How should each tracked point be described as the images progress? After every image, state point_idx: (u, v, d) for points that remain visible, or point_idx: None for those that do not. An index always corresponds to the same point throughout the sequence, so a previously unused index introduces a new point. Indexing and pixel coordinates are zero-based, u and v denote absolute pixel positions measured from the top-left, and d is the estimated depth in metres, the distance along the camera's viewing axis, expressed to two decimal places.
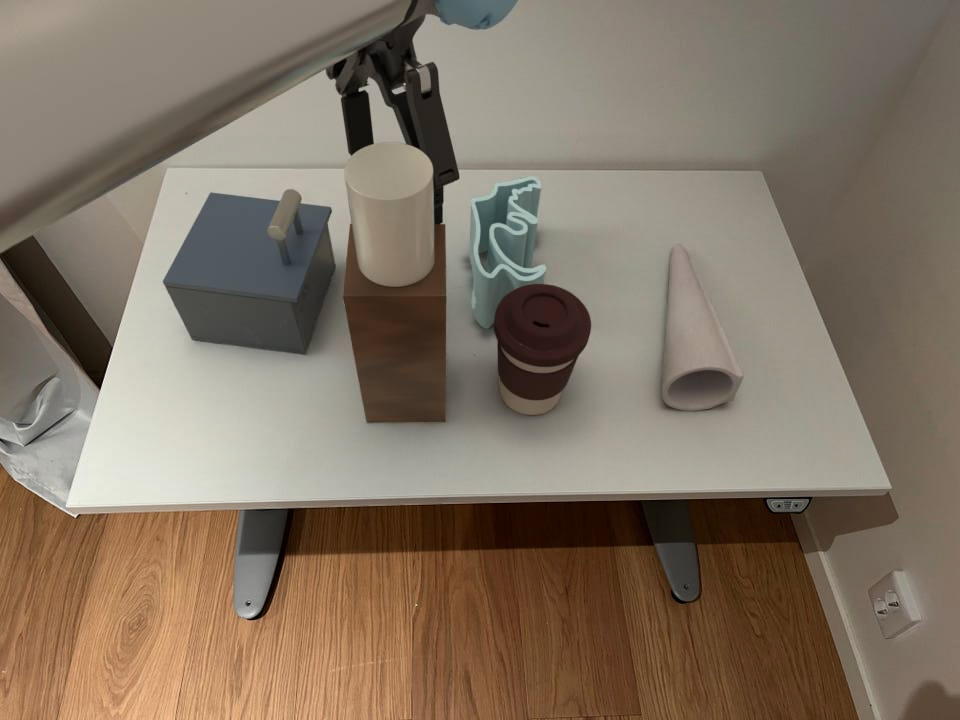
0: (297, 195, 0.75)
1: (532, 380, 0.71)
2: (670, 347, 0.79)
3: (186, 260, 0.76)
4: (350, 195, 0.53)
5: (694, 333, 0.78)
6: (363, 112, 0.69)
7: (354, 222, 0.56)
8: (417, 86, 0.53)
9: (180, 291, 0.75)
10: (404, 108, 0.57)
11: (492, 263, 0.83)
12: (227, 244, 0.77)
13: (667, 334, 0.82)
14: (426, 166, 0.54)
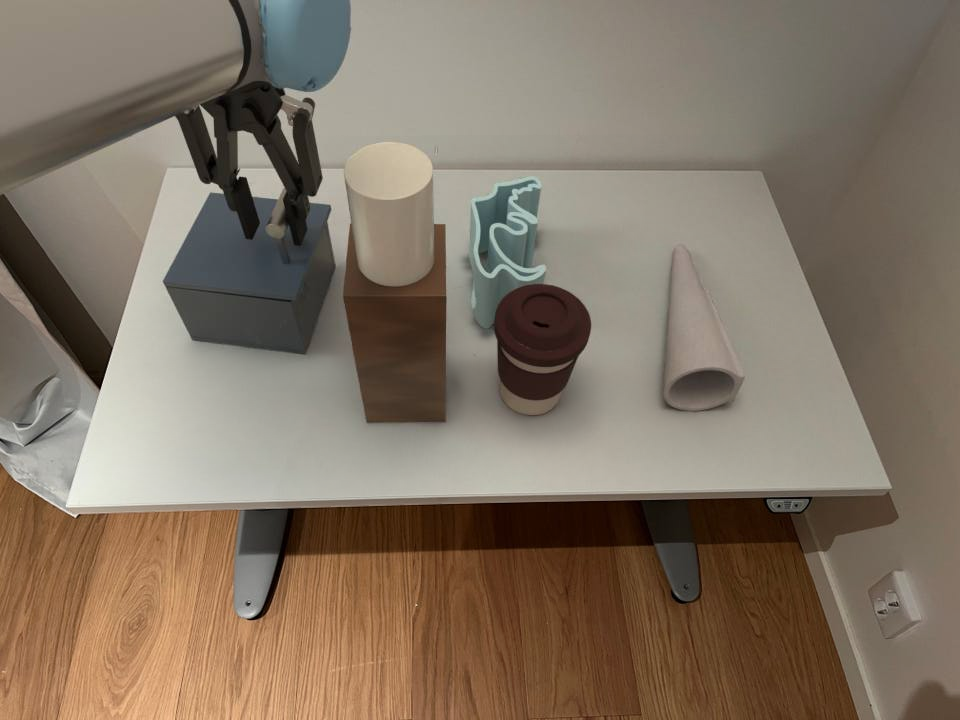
0: None
1: (532, 380, 0.71)
2: (672, 347, 0.79)
3: (186, 260, 0.76)
4: (350, 195, 0.53)
5: (696, 333, 0.78)
6: (248, 196, 0.73)
7: (354, 222, 0.56)
8: (308, 122, 0.63)
9: (180, 291, 0.75)
10: (276, 144, 0.65)
11: (492, 263, 0.83)
12: (227, 243, 0.77)
13: (669, 334, 0.82)
14: (426, 165, 0.54)
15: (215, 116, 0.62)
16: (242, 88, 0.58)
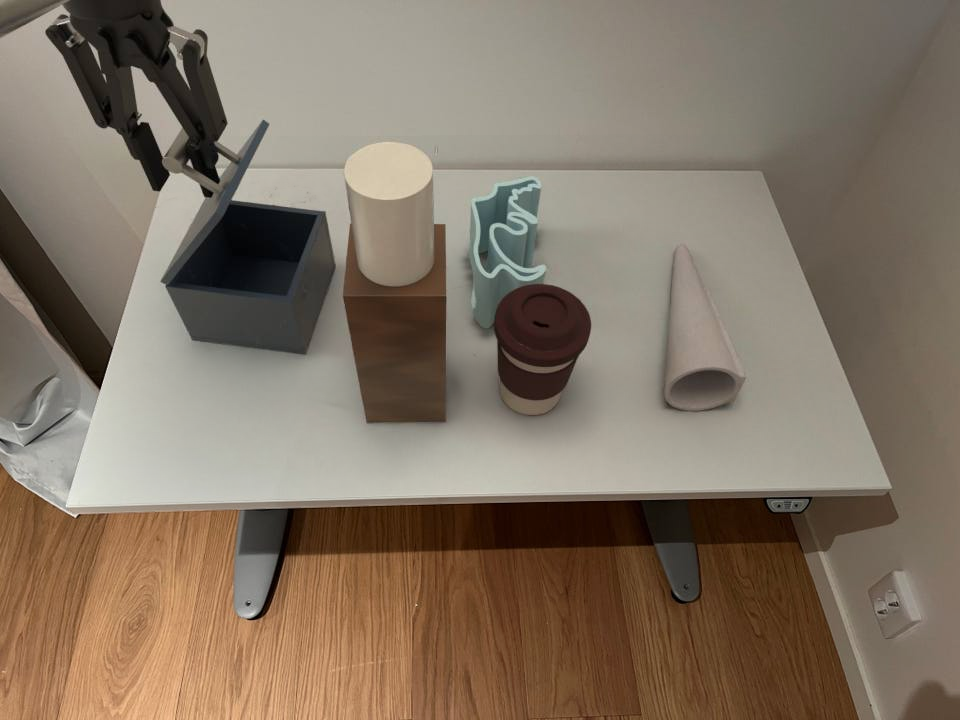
0: None
1: (532, 380, 0.71)
2: (673, 347, 0.79)
3: (176, 253, 0.75)
4: (350, 195, 0.53)
5: (697, 333, 0.78)
6: (151, 143, 0.69)
7: (354, 222, 0.56)
8: (199, 56, 0.58)
9: (180, 291, 0.75)
10: (170, 81, 0.61)
11: (492, 263, 0.83)
12: (199, 217, 0.75)
13: (670, 334, 0.82)
14: (426, 165, 0.54)
15: (98, 49, 0.58)
16: (118, 13, 0.54)
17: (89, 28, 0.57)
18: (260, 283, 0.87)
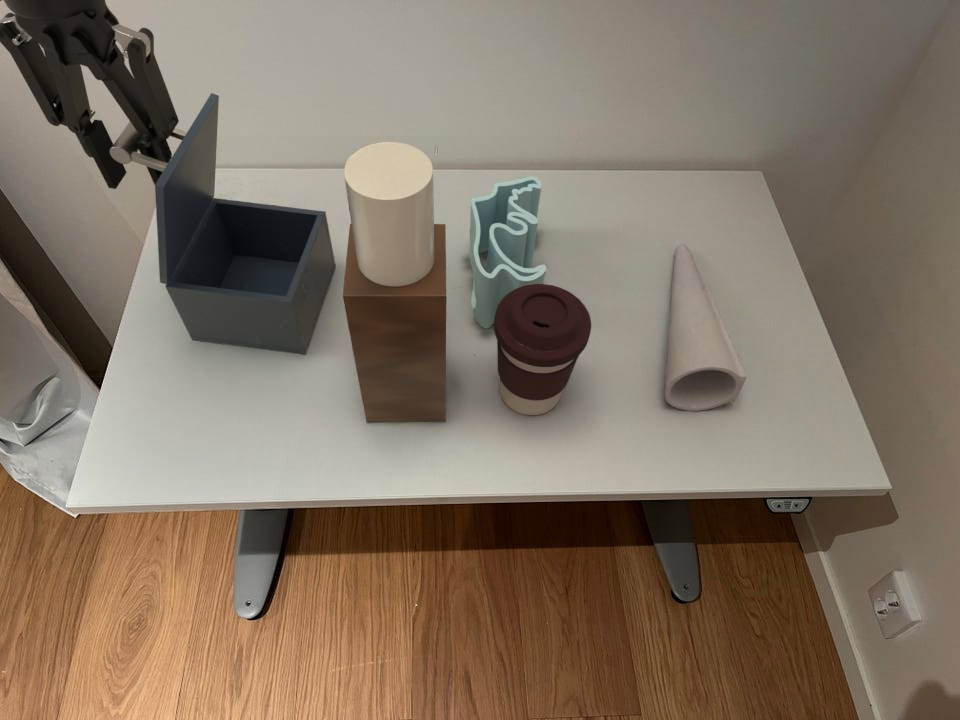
0: None
1: (532, 380, 0.71)
2: (673, 347, 0.79)
3: None
4: (350, 195, 0.53)
5: (697, 333, 0.78)
6: (105, 141, 0.69)
7: (354, 222, 0.56)
8: (144, 54, 0.59)
9: (180, 291, 0.75)
10: (118, 79, 0.62)
11: (492, 263, 0.83)
12: None
13: (670, 334, 0.82)
14: (426, 165, 0.54)
15: (44, 47, 0.58)
16: (60, 12, 0.54)
17: (34, 26, 0.58)
18: (260, 283, 0.87)
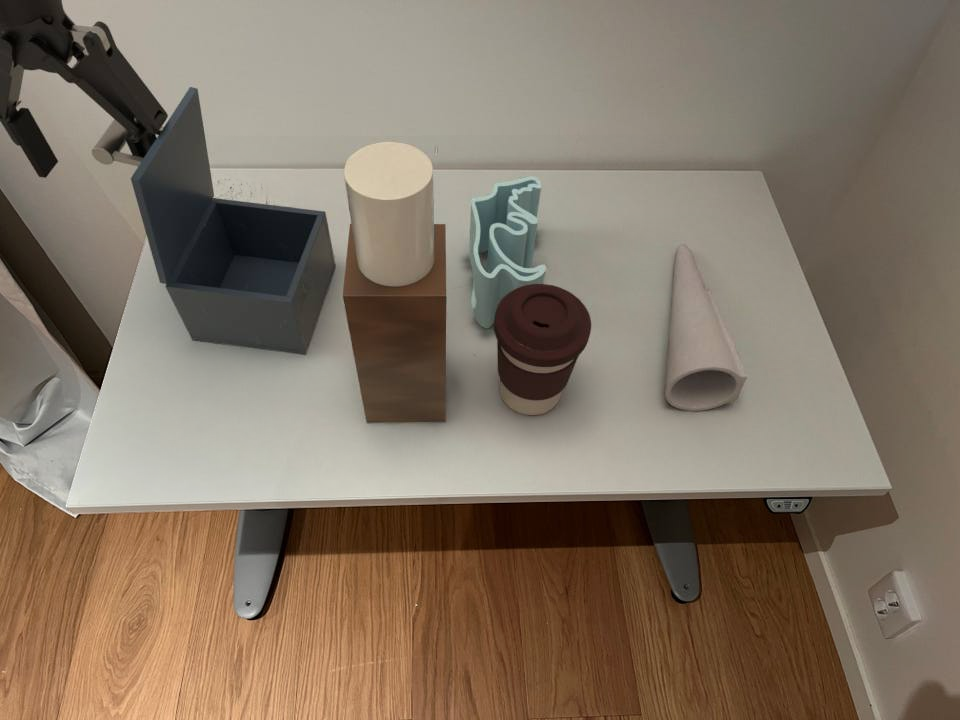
0: None
1: (532, 380, 0.71)
2: (674, 347, 0.79)
3: None
4: (350, 195, 0.53)
5: (698, 333, 0.78)
6: (33, 129, 0.69)
7: (354, 222, 0.56)
8: (101, 46, 0.59)
9: (180, 291, 0.75)
10: (88, 78, 0.62)
11: (492, 263, 0.83)
12: None
13: (671, 334, 0.82)
14: (426, 165, 0.54)
15: (0, 49, 0.59)
16: (16, 18, 0.55)
17: None
18: (260, 283, 0.87)
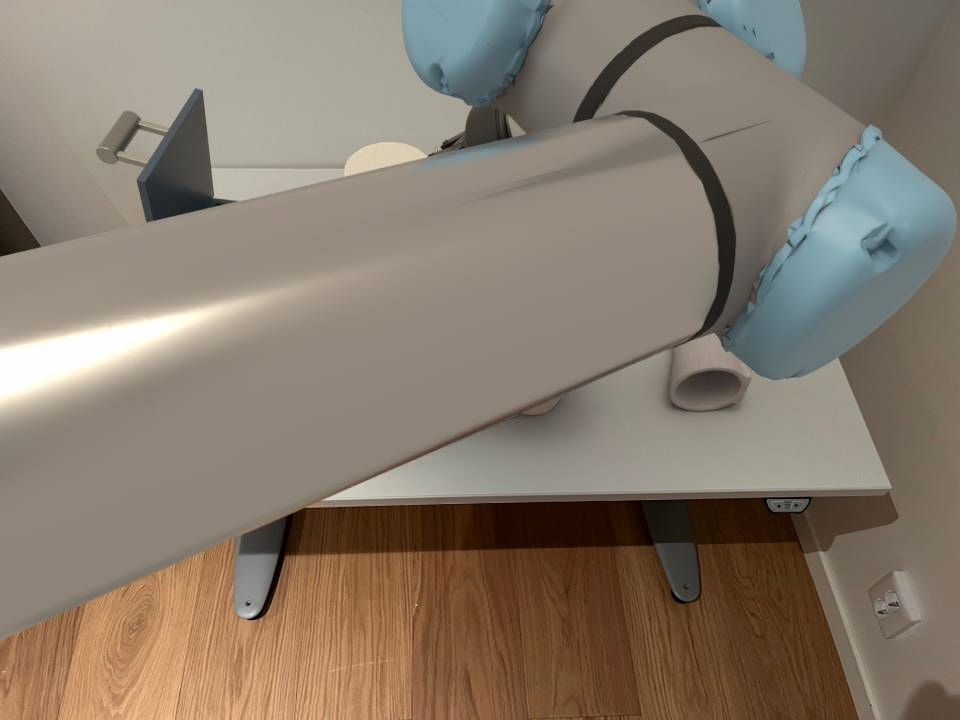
0: (122, 113, 0.69)
1: None
2: (679, 347, 0.79)
3: None
4: None
5: None
6: None
7: None
8: None
9: None
10: None
11: None
12: None
13: None
14: None
15: None
16: (468, 125, 0.43)
17: None
18: None
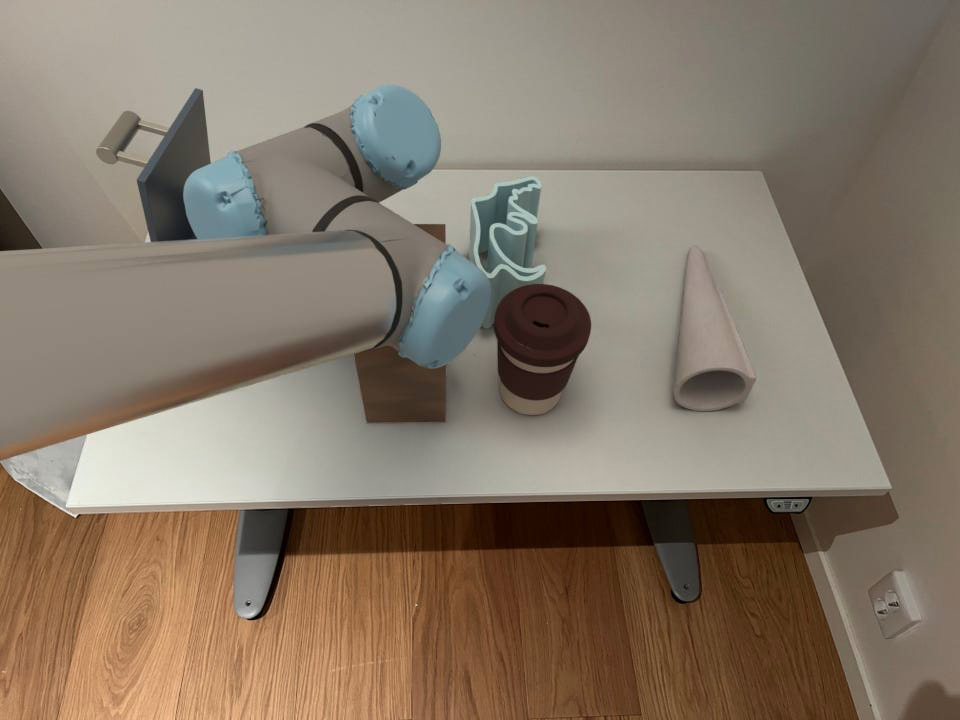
0: (122, 113, 0.69)
1: (532, 380, 0.71)
2: (683, 347, 0.79)
3: None
4: None
5: (708, 334, 0.79)
6: None
7: None
8: None
9: None
10: None
11: (492, 263, 0.83)
12: None
13: (681, 334, 0.82)
14: None
15: None
16: None
17: None
18: None
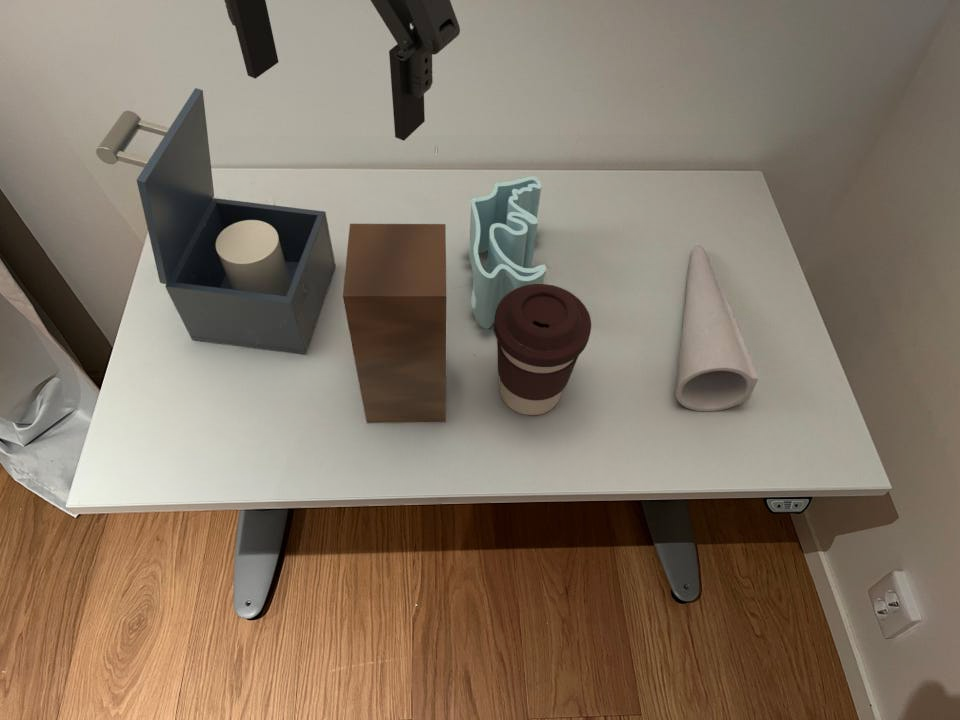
0: (122, 113, 0.69)
1: (532, 380, 0.71)
2: (686, 347, 0.79)
3: None
4: (220, 259, 0.77)
5: (710, 334, 0.79)
6: (258, 7, 0.49)
7: (226, 276, 0.80)
8: None
9: (180, 291, 0.75)
10: None
11: (492, 263, 0.83)
12: None
13: (683, 334, 0.82)
14: (273, 238, 0.78)
15: None
16: None
17: None
18: None
